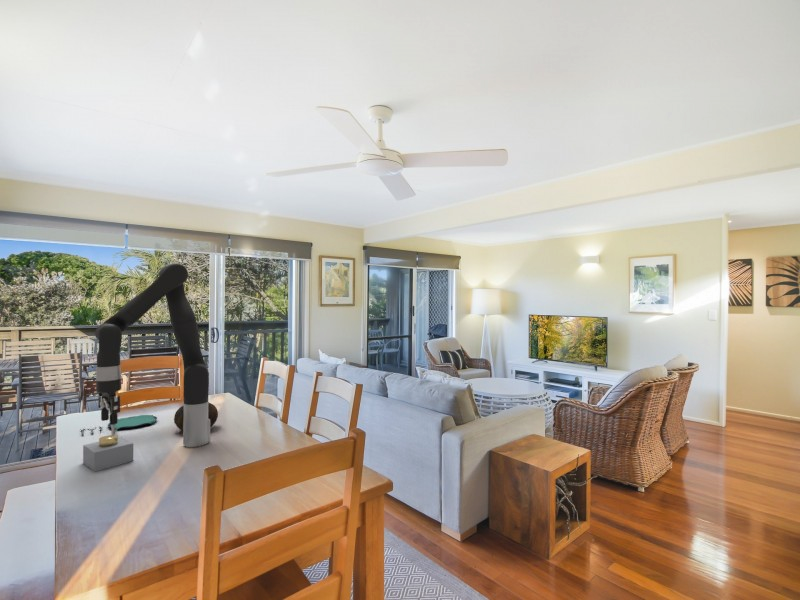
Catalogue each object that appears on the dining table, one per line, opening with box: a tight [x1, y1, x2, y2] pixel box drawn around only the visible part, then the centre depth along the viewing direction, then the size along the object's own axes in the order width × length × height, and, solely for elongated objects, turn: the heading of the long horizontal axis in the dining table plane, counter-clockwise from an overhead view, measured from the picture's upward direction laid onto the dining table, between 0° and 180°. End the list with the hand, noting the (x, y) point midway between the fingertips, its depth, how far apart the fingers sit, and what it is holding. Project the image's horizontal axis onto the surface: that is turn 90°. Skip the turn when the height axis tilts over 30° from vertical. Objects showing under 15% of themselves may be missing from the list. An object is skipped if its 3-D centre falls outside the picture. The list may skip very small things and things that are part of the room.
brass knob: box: [98, 434, 119, 447], centre depth 149 cm, size 6×6×8 cm
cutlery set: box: [80, 414, 158, 437], centre depth 192 cm, size 20×30×2 cm, turn 128°
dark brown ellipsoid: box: [173, 401, 219, 432], centre depth 187 cm, size 18×18×28 cm
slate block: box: [82, 436, 134, 472], centre depth 149 cm, size 12×12×6 cm
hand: (109, 422), depth 149 cm, fingers open, 8 cm apart
